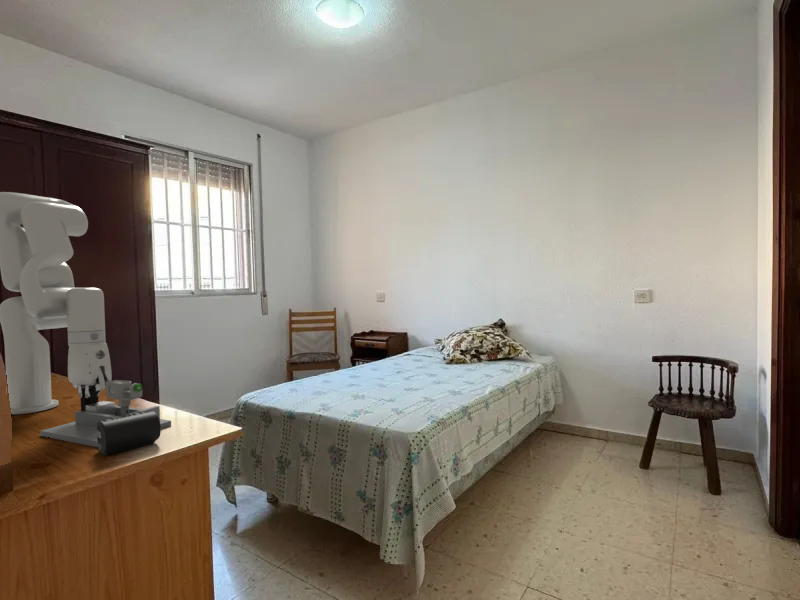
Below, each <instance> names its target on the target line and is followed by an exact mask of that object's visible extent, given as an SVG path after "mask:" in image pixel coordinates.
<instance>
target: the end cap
mask: <svg viewBox="0 0 800 600" xmlns="http://www.w3.org/2000/svg"><path fill="white" fill-rule="evenodd" d="M96 429H97V430H98V431H99V432H101V436H98V438H97V440H98V444H100V445H101V448H99V447H98V452H99V453H101V454H102V455H103V456H109V455H113V454H117V453H120V452H124V451H128V450H133V449H136V448H140V447H144V446H147V445H152V444H155V442H156V441H157V440H159V438H160V436H161V431H162V429H161V425H160V420H159V417H158V415H157V413H156V412H154V411H153V412H149V413H144V412H139V413H136V414H134V413H133V414H131V415H130V416H129V417H125V418H120V419H115V418H110V419H107V420H105V419H104V420H102V421H99V422H98V423H97V428H96Z"/></svg>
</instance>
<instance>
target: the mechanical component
mask: <svg viewBox="0 0 800 600" xmlns="http://www.w3.org/2000/svg"><path fill="white" fill-rule="evenodd" d="M105 386H106V388H105V391H106V396H107V398H108V399H111V400H118V404H117V406H119V407H121V417H126V414H128V413H129V407H130V406H131V405H132V403H131V401H132V400H137V399H140V398H142V397H143V389H144V388H143V385H142V384H141V383H139V382H134V383H132V381H131V380H123V379H122V380H120V379H119V380H118V379H115V380H111V381H110V382H106V383H105Z"/></svg>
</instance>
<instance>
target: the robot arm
mask: <svg viewBox="0 0 800 600" xmlns="http://www.w3.org/2000/svg"><path fill="white" fill-rule="evenodd" d="M21 225H22V226H23V227H22V226H21ZM88 228H89V221H88V217H87V215H86V213H85V211H83V209H82V208H80V207H79V206H78V205H75V204H73V203H70V202H68V201H66V200H63V199H59V198H54V197H49V196H48V197H46V196H41V195H39V196H38V195H34V194H28V193H19V192H13V191H8V192H7V191H0V275H1V281H2V284H3V287H4V288H5V289H6V290H8V291H10V292H14V293H15V292H16V293H20V294H21V296H14V297H9V298H7V299H5V300H3V301H2V302H1V303H0V327H1V330H2V334H3V342H4V343H3V344H4V359H5V360H4V361H5V376H6V375H7V384H8V393H9V401H10V408H11V413H12V415H24V414H25V415H26V414H31V413H37V412H42V411H46V410H50V409H54V408H56V407H58V406H59V403H60V402H59V400H57V399H52V379H51V378H52V375H51V374H52V373H51V357H50V356H51V351H50V344H49V342H48V340H47V339H46V338H45V337H44V336H43V335H42V334H41V333H40V332H39V331H40V330H41V331H42V330H51V329H61V328H63V329H64V328H67V329H66V330H67V346H68V351H67V352H68V354H67V376H68V377H67V378H68V381H69V382H68V383H71V384H72V387H73V388H75V389H76V390H77V391H78V396H79V398H80V411H86V405H89V404H93V403H97V402H99V396H100V394H101V393H100V392H101V391H102V390H106V382H110V381H112V378H113V377H112V375H113V374H112V365H111V364H112V363H111V357H110V352H109V347H108V343H107V342H106V341H107V340H106V320H105V319H106V318H105V317H106V316H105V313H106V312H105V297H104V296H105V295H104V291H103V290H102V289H101V288H97V287H75V281H74V275H73V271H72V269H71V267H70V265H68V263H67V262H69V260H71V259H72V257H73V256H74V249H73V246H72V243H71V240H70V237H81V236H83V235H85V234H86V233H87V231H88ZM12 415H11V416H12Z"/></svg>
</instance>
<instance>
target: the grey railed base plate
mask: <svg viewBox="0 0 800 600" xmlns="http://www.w3.org/2000/svg"><path fill="white" fill-rule="evenodd" d="M160 410H161V409H160V405H154V406H151V407H147V408H137V407H130V406H129V413H128V414H126V417H129V416H130V415H131V414H133V413H134V414H136V413H139V412H144V413H149V412H153V411H154V412H156V413H157V415H158V417H159V420H160V425H161V430H162V429H165V428H169V427H171V426H172V420H169V419H162V418H161V412H160ZM74 414H75V415H74V416H75V421H72V422H69V423H64V424H61V425H57V426H53V427H49V428H44V429H42V430H40V434H39V435H40V437H43V436H45V437H44V438H48V437H50V438H49V439H53V438H54V439H55V440H58V439H59V441H63V440H64V441H63V442H69V443H74V444H79V445H85V446H90V447H95V448H98V449H99V448H101V445H100V444H98V440H97V438H98V436H101V432H99V431H98V430H97V429H96V428H97V423H98V422H99V421H102V420H104V419H105V420H107V419H110V418H115V419H120V418H125V417H121V407H119V406H118V405H116V404H115V416H113V415H107V414H100V413H93V412H86V411H81V410H78V411H75V412H74Z"/></svg>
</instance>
